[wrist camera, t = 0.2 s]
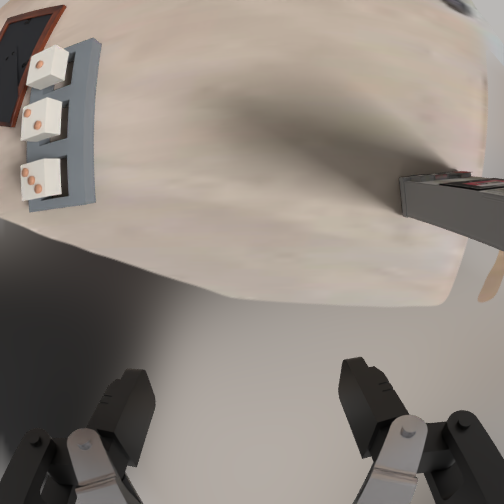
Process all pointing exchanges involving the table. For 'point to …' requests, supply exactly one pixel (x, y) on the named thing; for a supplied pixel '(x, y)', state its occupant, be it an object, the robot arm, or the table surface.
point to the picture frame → (21, 56)
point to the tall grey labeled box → (457, 204)
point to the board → (72, 129)
